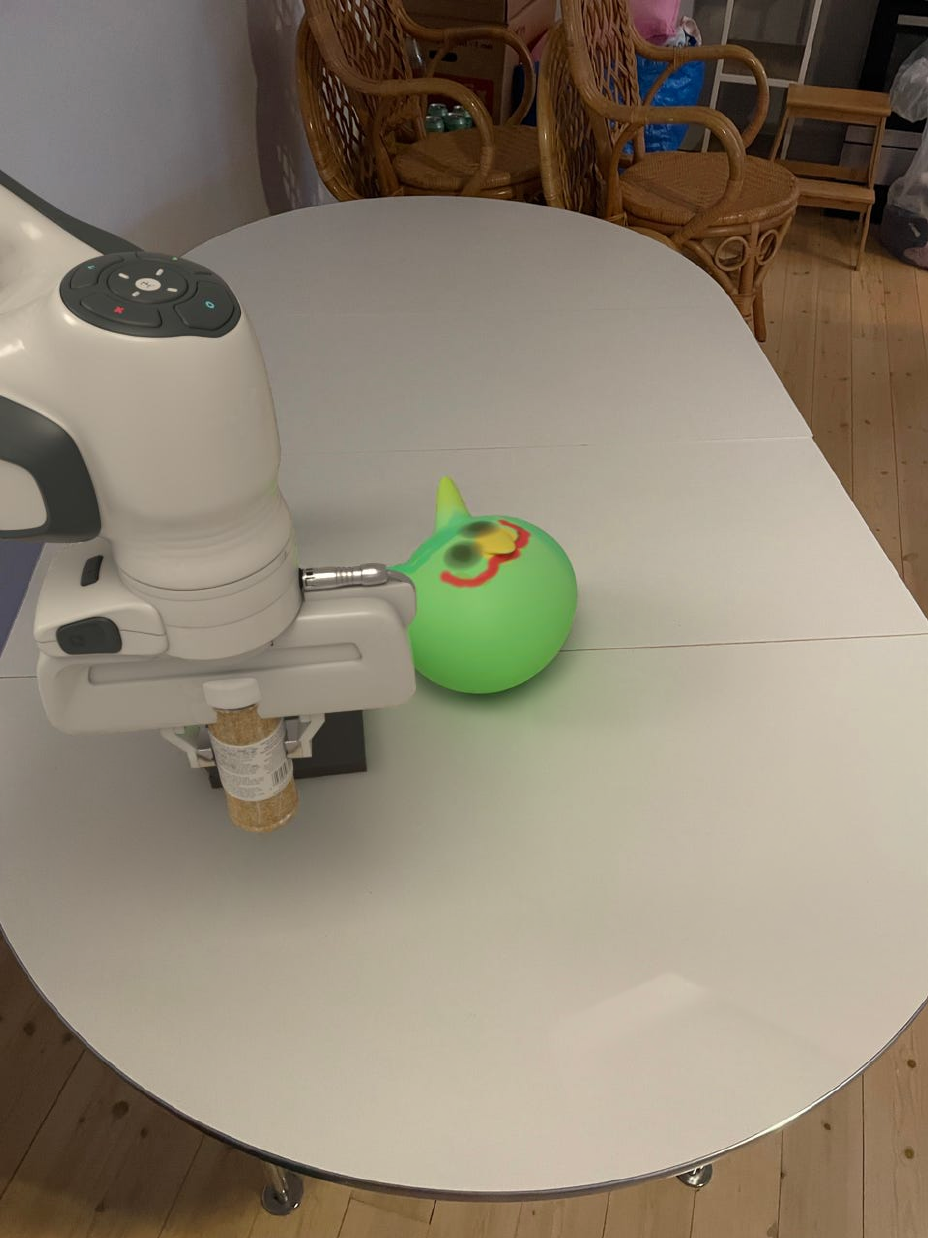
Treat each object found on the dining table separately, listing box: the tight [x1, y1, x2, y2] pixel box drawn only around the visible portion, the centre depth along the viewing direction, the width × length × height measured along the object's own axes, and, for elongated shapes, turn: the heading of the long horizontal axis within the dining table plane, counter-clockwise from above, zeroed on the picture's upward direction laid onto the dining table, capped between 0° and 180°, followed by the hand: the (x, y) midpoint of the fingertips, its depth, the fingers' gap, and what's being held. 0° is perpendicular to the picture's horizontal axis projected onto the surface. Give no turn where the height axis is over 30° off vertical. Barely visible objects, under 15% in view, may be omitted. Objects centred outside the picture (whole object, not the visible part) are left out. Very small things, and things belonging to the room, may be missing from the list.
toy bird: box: [386, 475, 578, 694], centre depth 93 cm, size 18×17×15 cm
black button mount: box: [203, 710, 368, 790], centre depth 90 cm, size 14×12×3 cm
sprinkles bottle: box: [203, 678, 300, 834], centre depth 62 cm, size 5×5×14 cm
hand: (252, 754), depth 63 cm, fingers closed on sprinkles bottle, 4 cm apart
